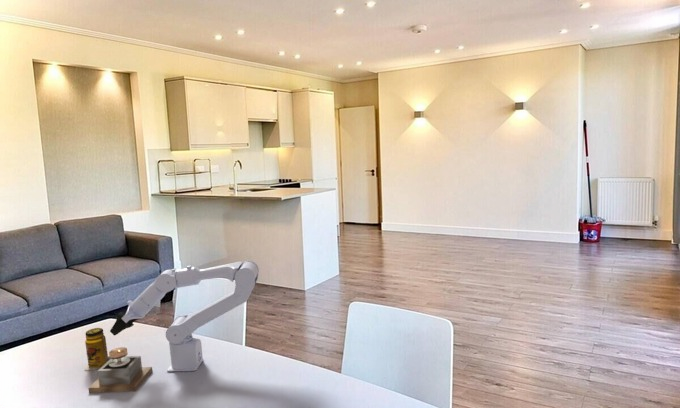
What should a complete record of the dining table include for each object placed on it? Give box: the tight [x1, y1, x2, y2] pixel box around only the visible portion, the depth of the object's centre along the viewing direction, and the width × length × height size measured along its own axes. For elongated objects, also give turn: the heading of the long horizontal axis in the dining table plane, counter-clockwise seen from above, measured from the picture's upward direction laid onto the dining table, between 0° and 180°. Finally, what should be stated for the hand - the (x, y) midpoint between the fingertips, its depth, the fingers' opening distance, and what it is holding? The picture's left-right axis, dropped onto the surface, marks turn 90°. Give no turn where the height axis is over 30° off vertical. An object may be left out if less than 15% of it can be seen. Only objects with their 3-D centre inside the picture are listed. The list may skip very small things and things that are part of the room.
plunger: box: [108, 346, 130, 367], centre depth 145 cm, size 6×6×4 cm
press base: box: [87, 355, 153, 394], centre depth 146 cm, size 14×12×6 cm
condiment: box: [84, 327, 110, 371], centre depth 159 cm, size 7×8×12 cm
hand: (118, 328), depth 152 cm, fingers open, 7 cm apart
